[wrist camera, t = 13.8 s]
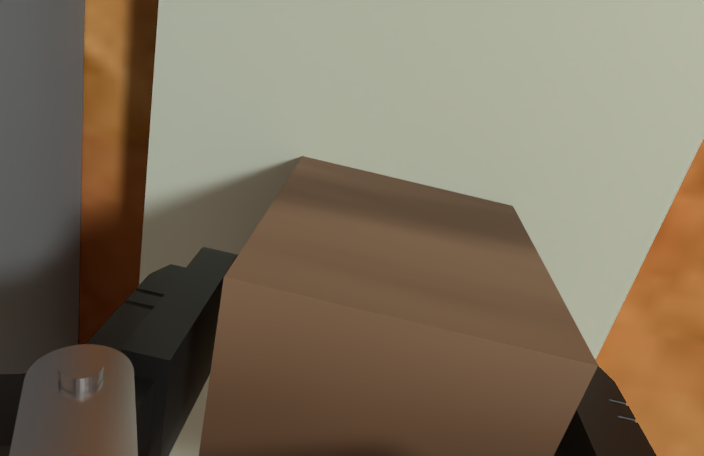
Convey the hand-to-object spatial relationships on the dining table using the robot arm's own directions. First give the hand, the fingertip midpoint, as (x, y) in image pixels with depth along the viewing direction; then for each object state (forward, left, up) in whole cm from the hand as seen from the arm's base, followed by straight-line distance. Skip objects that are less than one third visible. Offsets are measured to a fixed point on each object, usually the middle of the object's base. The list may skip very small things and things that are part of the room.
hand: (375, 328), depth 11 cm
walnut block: (0, 0, -3) cm, 3 cm away
